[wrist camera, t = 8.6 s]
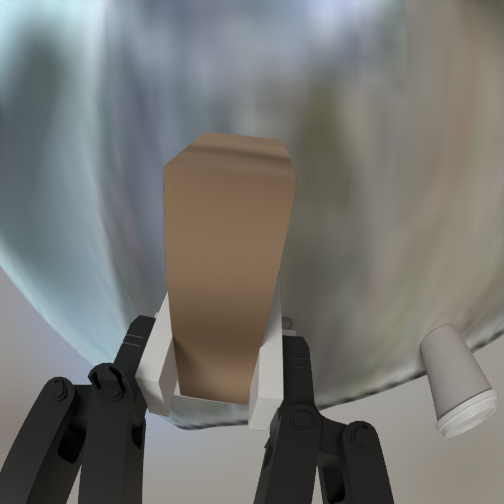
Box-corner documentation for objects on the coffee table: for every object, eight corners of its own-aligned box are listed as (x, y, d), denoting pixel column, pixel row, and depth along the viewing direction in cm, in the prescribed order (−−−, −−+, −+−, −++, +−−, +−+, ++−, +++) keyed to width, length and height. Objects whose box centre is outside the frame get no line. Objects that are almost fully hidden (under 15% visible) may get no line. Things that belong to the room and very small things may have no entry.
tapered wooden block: (146, 129, 10) (75, 163, 6) (345, 152, 10) (395, 201, 6) (168, 382, 20) (154, 438, 16) (271, 396, 20) (270, 454, 16)
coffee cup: (404, 364, 38) (428, 447, 25) (419, 324, 33) (456, 420, 20) (452, 351, 36) (482, 425, 24) (471, 311, 31) (514, 393, 19)
